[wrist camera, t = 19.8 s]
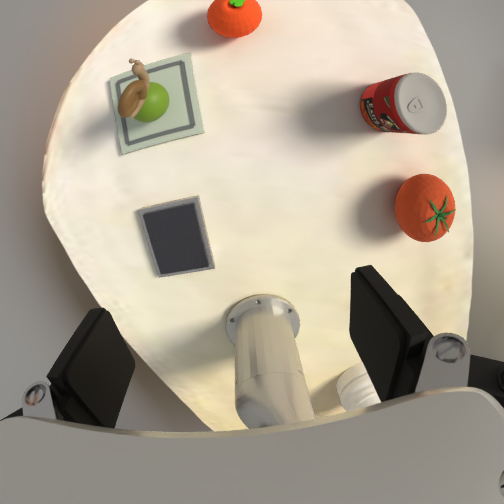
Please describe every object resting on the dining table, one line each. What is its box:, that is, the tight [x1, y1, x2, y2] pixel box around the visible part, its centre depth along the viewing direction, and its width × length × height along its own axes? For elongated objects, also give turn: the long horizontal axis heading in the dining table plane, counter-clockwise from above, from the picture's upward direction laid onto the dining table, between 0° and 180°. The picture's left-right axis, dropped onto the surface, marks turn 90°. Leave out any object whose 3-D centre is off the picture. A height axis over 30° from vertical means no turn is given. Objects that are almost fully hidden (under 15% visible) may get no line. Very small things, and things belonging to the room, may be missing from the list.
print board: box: [110, 53, 205, 154], centre depth 32 cm, size 12×12×1 cm
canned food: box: [360, 73, 447, 134], centre depth 29 cm, size 8×8×11 cm
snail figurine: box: [118, 59, 169, 122], centre depth 26 cm, size 5×6×12 cm
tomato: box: [395, 174, 456, 242], centre depth 35 cm, size 10×10×10 cm
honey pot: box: [336, 362, 381, 412], centre depth 47 cm, size 13×13×18 cm
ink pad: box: [139, 196, 215, 278], centre depth 40 cm, size 11×9×2 cm
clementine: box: [207, 0, 262, 38], centre depth 25 cm, size 8×7×7 cm
